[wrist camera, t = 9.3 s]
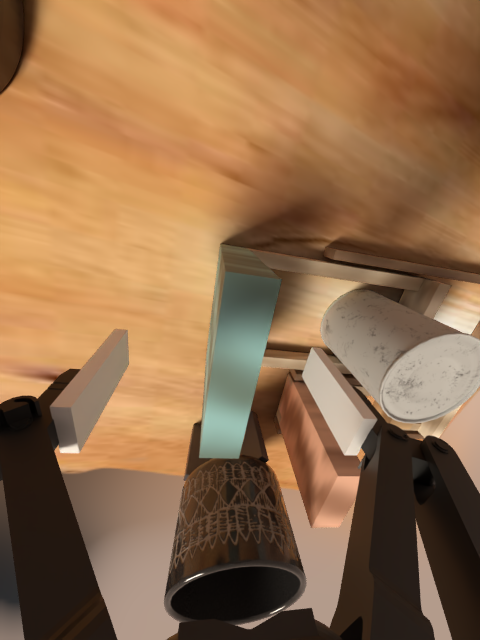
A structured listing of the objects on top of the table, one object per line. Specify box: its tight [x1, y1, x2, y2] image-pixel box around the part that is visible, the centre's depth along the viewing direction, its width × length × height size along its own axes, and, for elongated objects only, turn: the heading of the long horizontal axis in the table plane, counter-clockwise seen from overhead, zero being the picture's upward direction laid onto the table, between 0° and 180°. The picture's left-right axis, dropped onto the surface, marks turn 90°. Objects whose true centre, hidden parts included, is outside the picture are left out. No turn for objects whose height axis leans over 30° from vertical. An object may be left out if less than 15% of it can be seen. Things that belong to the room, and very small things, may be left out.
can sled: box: [199, 244, 451, 459], centre depth 23 cm, size 14×26×14 cm, turn 81°
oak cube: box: [373, 400, 413, 430], centre depth 35 cm, size 4×4×4 cm
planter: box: [164, 410, 306, 625], centre depth 29 cm, size 13×13×18 cm
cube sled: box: [276, 373, 461, 528], centre depth 30 cm, size 8×26×14 cm, turn 80°
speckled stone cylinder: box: [320, 289, 480, 424], centre depth 25 cm, size 10×10×12 cm
